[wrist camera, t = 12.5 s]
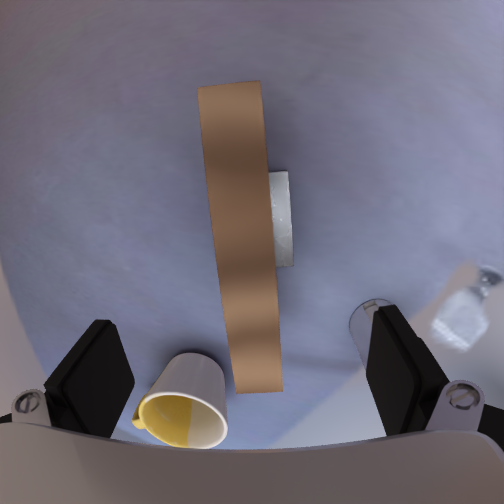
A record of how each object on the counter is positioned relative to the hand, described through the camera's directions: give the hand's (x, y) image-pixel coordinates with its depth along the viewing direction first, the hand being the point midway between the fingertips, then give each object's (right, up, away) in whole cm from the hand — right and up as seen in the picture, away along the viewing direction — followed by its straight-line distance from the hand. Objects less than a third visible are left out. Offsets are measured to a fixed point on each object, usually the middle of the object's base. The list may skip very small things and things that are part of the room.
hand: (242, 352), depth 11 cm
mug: (-9, -13, +31) cm, 34 cm away
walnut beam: (0, +4, +16) cm, 16 cm away
